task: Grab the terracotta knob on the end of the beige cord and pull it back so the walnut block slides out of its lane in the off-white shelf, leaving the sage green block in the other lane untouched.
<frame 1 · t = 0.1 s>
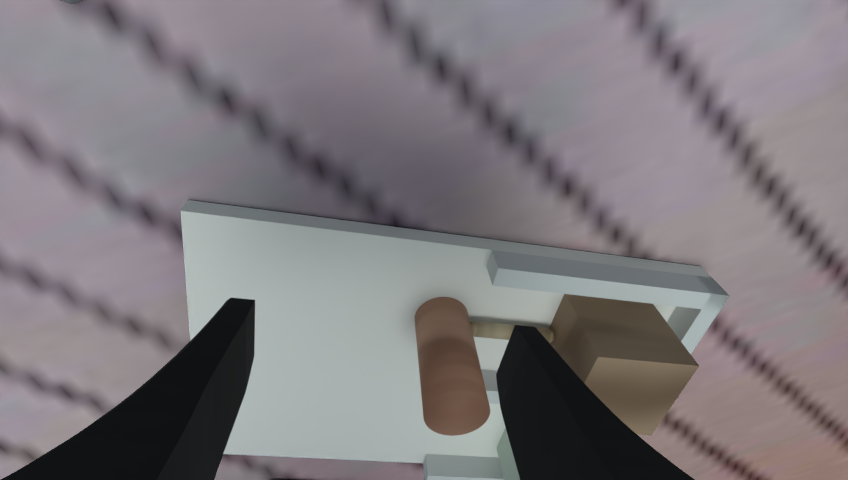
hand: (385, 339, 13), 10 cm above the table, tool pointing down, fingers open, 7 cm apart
sage block: (544, 425, 31), point 1 cm above the table, touching lane shelf
lane shelf: (433, 359, 28), on the table
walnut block: (591, 332, 27), point 1 cm above the table, touching lane shelf
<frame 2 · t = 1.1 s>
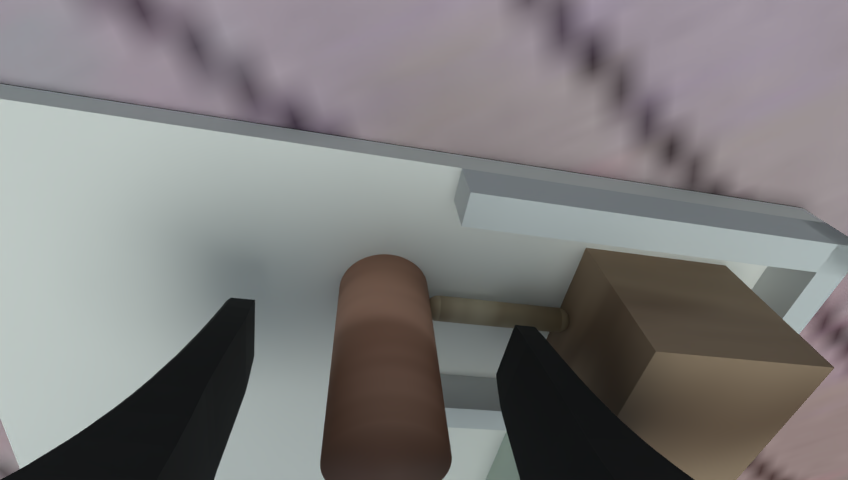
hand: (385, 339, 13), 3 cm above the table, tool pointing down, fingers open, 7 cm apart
sage block: (551, 456, 21), point 1 cm above the table, touching lane shelf
lane shelf: (381, 358, 18), on the table
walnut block: (626, 315, 17), point 1 cm above the table, touching lane shelf
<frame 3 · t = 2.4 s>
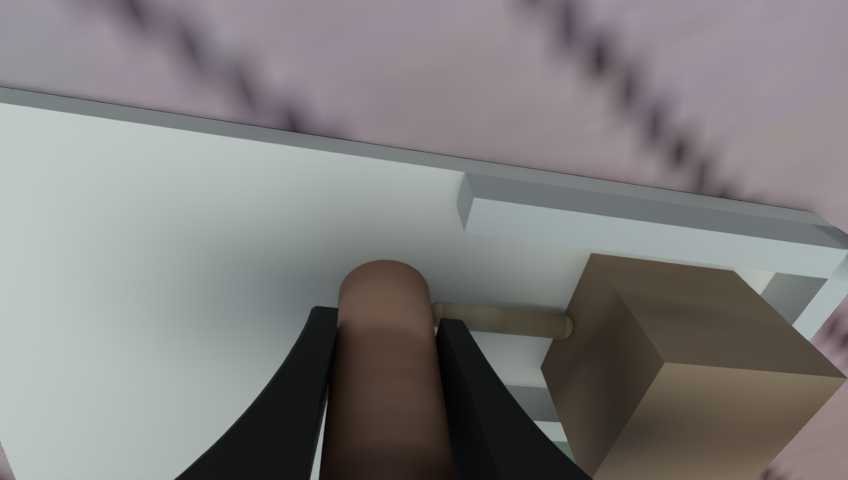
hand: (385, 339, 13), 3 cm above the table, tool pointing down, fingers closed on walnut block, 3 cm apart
lane shelf: (381, 364, 18), on the table
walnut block: (631, 321, 16), point 1 cm above the table, touching gripper, lane shelf
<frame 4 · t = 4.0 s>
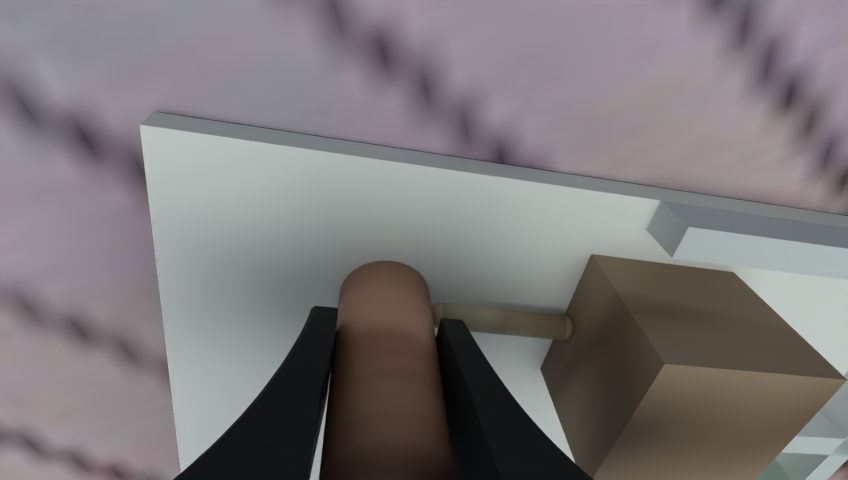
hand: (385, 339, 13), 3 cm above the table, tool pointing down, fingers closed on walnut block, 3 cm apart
sage block: (679, 468, 21), point 1 cm above the table, touching lane shelf
lane shelf: (530, 376, 19), on the table
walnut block: (631, 322, 16), point 1 cm above the table, touching gripper
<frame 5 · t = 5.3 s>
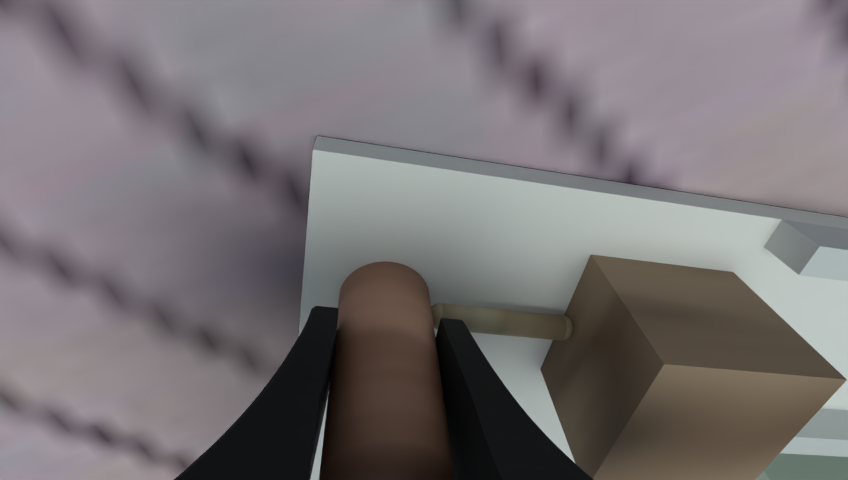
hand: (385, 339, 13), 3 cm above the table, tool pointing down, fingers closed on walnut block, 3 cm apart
sage block: (757, 472, 22), point 1 cm above the table, touching lane shelf
lane shelf: (625, 383, 20), on the table
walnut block: (631, 323, 16), point 1 cm above the table, touching gripper, lane shelf
when the fingers open (3 cm above the table, at t = 6.0 s): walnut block stays where it is, resting on lane shelf.
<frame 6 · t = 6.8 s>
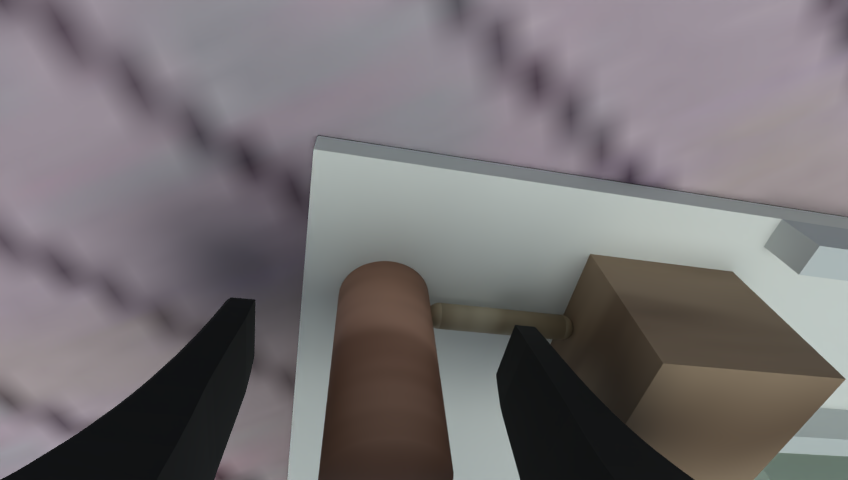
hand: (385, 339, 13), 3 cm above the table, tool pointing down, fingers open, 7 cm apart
sage block: (757, 472, 22), point 1 cm above the table, touching lane shelf
lane shelf: (625, 383, 20), on the table
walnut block: (631, 322, 16), point 1 cm above the table, touching lane shelf
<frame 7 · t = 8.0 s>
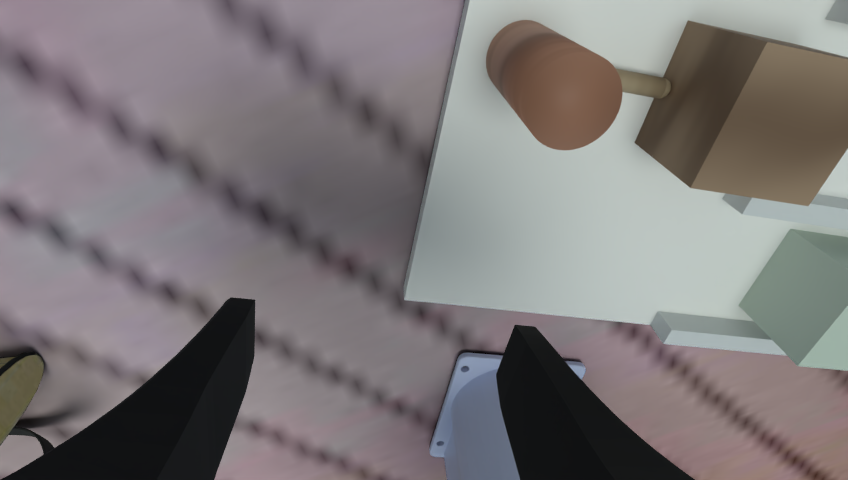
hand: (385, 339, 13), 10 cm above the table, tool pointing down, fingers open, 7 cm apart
sage block: (803, 273, 26), point 1 cm above the table, touching lane shelf
lane shelf: (696, 177, 23), on the table
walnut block: (712, 95, 20), point 1 cm above the table, touching lane shelf
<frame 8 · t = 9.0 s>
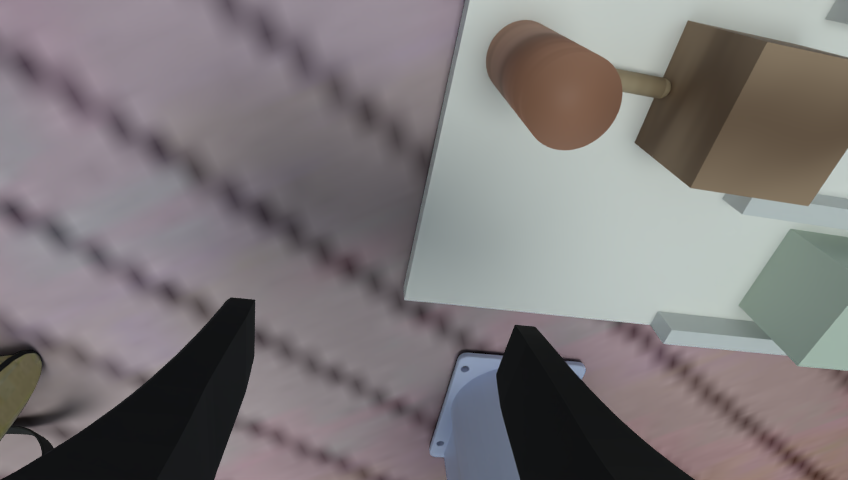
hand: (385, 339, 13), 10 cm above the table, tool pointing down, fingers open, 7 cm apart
sage block: (803, 273, 26), point 1 cm above the table, touching lane shelf
lane shelf: (696, 177, 23), on the table
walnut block: (712, 95, 20), point 1 cm above the table, touching lane shelf
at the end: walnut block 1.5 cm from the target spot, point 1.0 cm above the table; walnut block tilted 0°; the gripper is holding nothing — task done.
